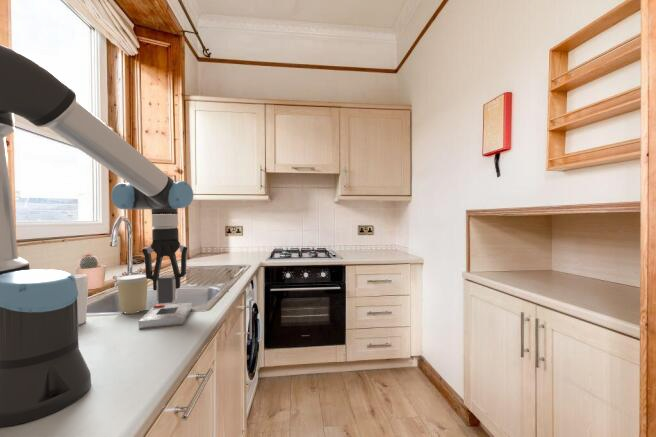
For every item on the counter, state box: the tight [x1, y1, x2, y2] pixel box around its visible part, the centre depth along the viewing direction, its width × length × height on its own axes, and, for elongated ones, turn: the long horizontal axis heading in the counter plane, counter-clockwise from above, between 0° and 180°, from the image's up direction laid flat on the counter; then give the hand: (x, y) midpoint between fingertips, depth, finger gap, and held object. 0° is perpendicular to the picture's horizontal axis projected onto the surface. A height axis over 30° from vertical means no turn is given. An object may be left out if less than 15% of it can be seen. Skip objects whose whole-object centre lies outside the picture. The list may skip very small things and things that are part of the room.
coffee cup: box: [116, 274, 148, 315], centre depth 109 cm, size 9×9×12 cm
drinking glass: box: [72, 273, 89, 326], centre depth 96 cm, size 7×7×15 cm
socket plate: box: [138, 302, 193, 330], centre depth 100 cm, size 16×12×3 cm
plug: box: [157, 274, 175, 304], centre depth 100 cm, size 5×4×8 cm
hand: (167, 298), depth 100 cm, fingers closed on plug, 4 cm apart
